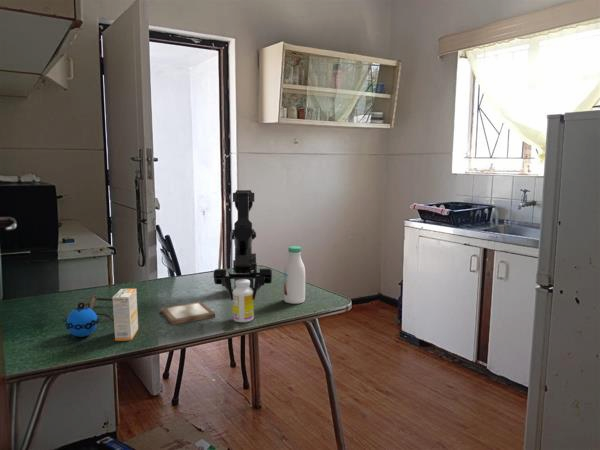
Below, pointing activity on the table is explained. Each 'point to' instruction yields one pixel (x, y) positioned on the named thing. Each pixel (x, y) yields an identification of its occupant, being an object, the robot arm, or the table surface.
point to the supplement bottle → (243, 301)
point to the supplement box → (125, 314)
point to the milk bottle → (294, 277)
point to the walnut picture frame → (187, 313)
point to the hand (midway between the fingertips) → (242, 299)
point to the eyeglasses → (92, 304)
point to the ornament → (82, 321)
